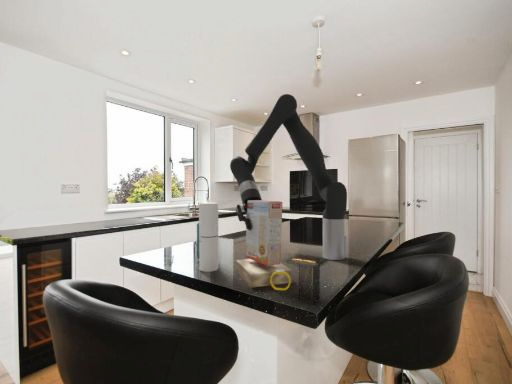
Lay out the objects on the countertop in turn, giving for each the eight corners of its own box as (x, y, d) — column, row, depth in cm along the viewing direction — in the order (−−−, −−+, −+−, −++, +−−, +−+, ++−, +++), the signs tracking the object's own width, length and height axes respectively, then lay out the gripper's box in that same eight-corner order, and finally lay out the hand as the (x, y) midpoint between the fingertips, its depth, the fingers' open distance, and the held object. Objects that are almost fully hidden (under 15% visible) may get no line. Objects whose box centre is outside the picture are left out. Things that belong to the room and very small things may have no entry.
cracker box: (281, 264, 89) (283, 201, 89) (266, 266, 86) (268, 201, 86) (258, 255, 101) (260, 199, 101) (244, 257, 98) (246, 199, 98)
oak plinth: (271, 267, 104) (271, 256, 104) (292, 282, 87) (292, 270, 87) (236, 270, 99) (236, 260, 99) (251, 287, 82) (250, 274, 82)
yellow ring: (270, 291, 80) (269, 271, 80) (271, 288, 83) (270, 269, 83) (290, 291, 79) (289, 271, 79) (291, 288, 82) (289, 268, 82)
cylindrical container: (209, 272, 97) (209, 203, 97) (195, 269, 101) (195, 203, 101) (222, 267, 103) (222, 202, 103) (208, 265, 107) (208, 202, 107)
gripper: (233, 187, 101) (242, 222, 90) (269, 187, 106) (281, 221, 95) (230, 201, 106) (238, 236, 95) (264, 200, 111) (276, 233, 100)
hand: (260, 228), depth 95 cm, fingers closed on cracker box, 6 cm apart
